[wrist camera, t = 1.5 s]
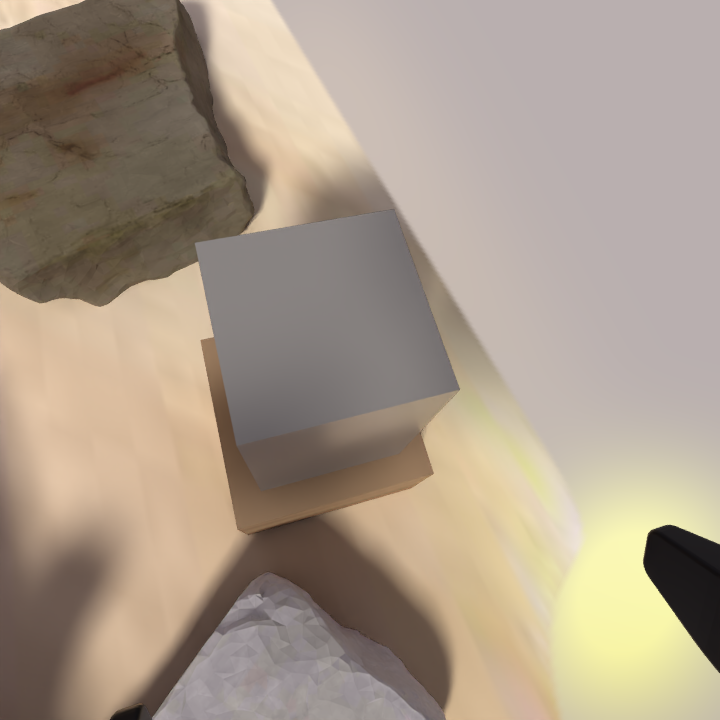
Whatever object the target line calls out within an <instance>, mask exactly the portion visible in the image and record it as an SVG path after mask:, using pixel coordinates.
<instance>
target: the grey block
mask: <svg viewBox="0 0 720 720" xmlns="http://www.w3.org/2000/svg"><path fill="white" fill-rule="evenodd" d="M195 246H196V251H197V256H198V261H199V266H200V271H201V276H202V280H203V285H204V290H205V295H206V300H207V305H208V310H209V314H210V319H211V324H212V329H213V334H214V339H215V344H216V348H217V353H218V358H219V363H220V368H221V373H222V378H223V382H224V387H225V392H226V397H227V402H228V407H229V412H230V416H231V421H232V426H233V431H234V436H235V441H236V446H237V448H238V450H239V451H240V453H241V455H242V457H243V459H244V461H245V462H246V464H247V466H248V468H249V470H250V472H251V473H252V475H253V477H254V479H255V481H256V483H257V485H258V486H259V488H260V490H261V491H264V490H268V489H272V488H275V487H279V486H283V485H286V484H290V483H294V482H297V481H301V480H305V479H309V478H312V477H316V476H320V475H323V474H327V473H331V472H334V471H338V470H342V469H345V468H349V467H353V466H356V465H360V464H364V463H367V462H371V461H375V460H378V459H382V458H386V457H389V456H393V455H397V454H399V453H400V452H401V451H402V450H403V449H404V448H405V447H406V446H407V445H408V444H409V443H410V442H411V441H412V440H413V439H414V438H415V437H416V436H417V434H418V433H419V432H420V431H421V430H422V429H423V428H424V427H425V426H426V425H427V424H428V423H429V422H430V421H431V420H432V419H433V418H434V417H435V416H436V414H437V413H438V412H439V411H440V410H441V409H442V408H443V407H444V406H445V405H446V404H447V403H448V402H449V401H450V400H451V399H452V398H453V397H454V396H455V394H456V393H457V392H458V391H459V390H460V388H459V386H458V383H457V380H456V377H455V375H454V372H453V369H452V366H451V364H450V361H449V358H448V356H447V353H446V350H445V347H444V345H443V342H442V339H441V336H440V334H439V331H438V328H437V325H436V323H435V320H434V317H433V314H432V312H431V309H430V306H429V303H428V301H427V298H426V295H425V293H424V290H423V287H422V284H421V282H420V279H419V276H418V273H417V271H416V268H415V265H414V262H413V260H412V257H411V254H410V251H409V249H408V246H407V243H406V241H405V238H404V235H403V232H402V230H401V227H400V224H399V221H398V219H397V216H396V213H395V210H394V209H391V210H385V211H379V212H373V213H368V214H362V215H356V216H350V217H344V218H338V219H332V220H326V221H320V222H315V223H309V224H303V225H297V226H291V227H285V228H279V229H273V230H267V231H261V232H256V233H250V234H244V235H238V236H232V237H226V238H220V239H214V240H208V241H203V242H197V243H195Z"/></svg>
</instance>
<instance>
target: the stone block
mask: <svg viewBox="0 0 720 720" xmlns="http://www.w3.org/2000/svg"><path fill="white" fill-rule="evenodd" d="M152 720H446V719H445V715H444V712H443V710H442V709H441V707H440V706H439V704H438V703H437V702H436V700H435V699H434V698H433V697H432V696H431V695H430V694H429V693H428V692H427V691H426V689H425V688H424V687H423V686H422V685H421V684H420V683H419V682H418V681H417V680H416V679H415V678H414V677H413V676H412V675H411V674H410V673H409V671H408V670H407V669H406V667H405V666H404V664H403V662H402V661H401V660H400V659H399V658H398V657H396V656H395V655H394V654H393V653H392V651H391V650H390V649H389V648H388V647H386V646H382V645H380V644H378V643H377V642H375V641H372V640H370V639H368V638H366V637H365V636H362V635H361V634H360V633H359V631H357V630H354V629H349V628H345V627H342V626H341V625H339V624H338V623H337V622H336V621H335V620H333V619H332V618H331V617H330V616H329V615H328V614H327V613H326V612H325V611H324V610H323V609H321V608H320V606H319V605H317V604H316V603H315V602H314V601H313V599H312V598H311V596H310V595H309V593H307V592H306V591H304V590H303V589H302V588H300V587H299V586H297V585H295V584H294V583H292V582H291V581H289V580H288V579H285V578H282V577H279V576H277V575H275V574H273V573H270V572H266V573H264V574H262V575H260V576H258V577H257V578H256V579H254V580H252V581H251V582H250V584H249V585H248V586H247V588H246V589H245V590H244V591H243V593H242V594H241V595H240V596H239V597H238V599H237V600H236V602H235V603H234V605H233V606H232V607H231V609H230V610H229V612H228V613H227V615H226V616H225V617H224V619H223V620H222V621H221V623H220V624H219V625H218V627H217V628H216V629H215V631H214V632H213V634H212V635H211V636H210V638H209V639H208V640H207V642H206V643H205V644H204V646H203V647H202V648H201V650H200V651H199V652H198V654H197V655H196V657H195V658H194V659H193V661H192V662H191V664H190V665H189V666H188V668H187V669H186V670H185V672H184V673H183V674H182V676H181V677H180V679H179V680H178V681H177V683H176V684H175V686H174V687H173V689H172V690H171V691H170V693H169V694H168V696H167V697H166V699H165V700H164V702H163V703H162V704H161V706H160V707H159V709H158V710H157V712H156V713H155V715H154V716H153V717H152Z"/></svg>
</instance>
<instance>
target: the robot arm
mask: <svg viewBox="0 0 720 720" xmlns="http://www.w3.org/2000/svg"><path fill="white" fill-rule="evenodd" d="M643 564H644V568H645V571H646V573H647V575H648V576H649V578H650V579H651V581H652V582H653V584H654V585H655V586H656V588H657V589H658V591H659V592H660V593H661V595H662V596H663V598H664V599H665V601H666V602H667V603H668V605H669V606H670V608H671V609H672V610H673V612H674V613H675V615H676V616H677V617H678V619H679V620H680V622H681V623H682V624H683V626H684V627H685V629H686V630H687V632H688V633H689V634H690V636H691V637H692V639H693V640H694V641H695V643H696V644H697V645H698V647H699V648H700V649H701V651H702V652H703V653H704V655H705V656H706V657H707V658H708V660H709V661H710V662H711V663H712V664H713V666H714V667H715V668H716V669H717V670H718V672H719V673H720V544H717V543H715V542H713V541H710V540H708V539H705V538H703V537H701V536H698V535H696V534H693V533H691V532H689V531H686V530H684V529H681V528H679V527H676V526H673V525H665V526H662V527H659V528H656V529H653V530H651V531H650V532H649V533H648V536H647V541H646V547H645V553H644V558H643ZM110 720H152V718H151V716H150V714H149V712H148V710H147V708H146V706H145V705H144V704H141V703H139V704H136V705H133V706H130V707H127V708H124V709H121V710H119V711H117V712H116V713H115V714H114V715H113V716H112V717H111V719H110Z"/></svg>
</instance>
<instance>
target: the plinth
mask: <svg viewBox="0 0 720 720" xmlns="http://www.w3.org/2000/svg"><path fill="white" fill-rule="evenodd" d="M201 345H202V350H203V355H204V361H205V366H206V371H207V376H208V381H209V386H210V391H211V396H212V401H213V407H214V412H215V417H216V422H217V427H218V432H219V437H220V442H221V447H222V452H223V458H224V463H225V468H226V473H227V478H228V483H229V488H230V493H231V498H232V504H233V509H234V514H235V519H236V524H237V529H238V530H240V531H242V532H244V533H246V534H248V535H250V534H254V533H257V532H260V531H264V530H267V529H271V528H274V527H278V526H281V525H285V524H288V523H292V522H295V521H299V520H302V519H306V518H309V517H313V516H316V515H320V514H323V513H326V512H330V511H333V510H337V509H340V508H344V507H347V506H351V505H354V504H358V503H361V502H365V501H368V500H372V499H375V498H379V497H382V496H386V495H389V494H392V493H396V492H399V491H403V490H406V489H410V488H412V487H414V486H415V485H417V484H418V483H420V482H421V481H423V480H425V479H426V478H428V477H429V476H431V475H432V474H434V473H433V470H432V467H431V464H430V461H429V458H428V455H427V452H426V449H425V446H424V442H423V439H422V436H421V433H420V432H419V433H418V434H417V436H416V437H415V438H414V439H413V440H412V441H411V442H410V443H409V444H408V445H407V446H406V447H405V448H404V449H403V450H402V451H401V452H400V453H399V454H397V455H393V456H389V457H386V458H382V459H378V460H375V461H371V462H367V463H364V464H360V465H356V466H353V467H349V468H345V469H342V470H338V471H334V472H331V473H327V474H323V475H320V476H316V477H312V478H309V479H305V480H301V481H297V482H294V483H290V484H286V485H283V486H279V487H275V488H272V489H268V490H264V491H261V490H260V488H259V486H258V485H257V483H256V481H255V479H254V477H253V475H252V473H251V472H250V470H249V468H248V466H247V464H246V462H245V461H244V459H243V457H242V455H241V453H240V451H239V450H238V448H237V446H236V441H235V436H234V431H233V426H232V421H231V416H230V412H229V407H228V402H227V397H226V392H225V387H224V382H223V378H222V373H221V368H220V363H219V358H218V353H217V348H216V344H215V339H214V337H213V338H208V339H204V340H201Z"/></svg>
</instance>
